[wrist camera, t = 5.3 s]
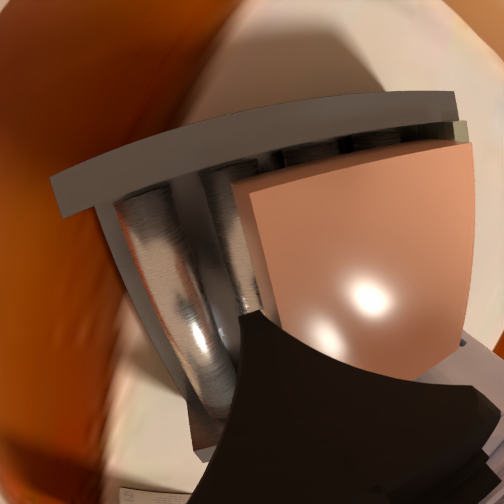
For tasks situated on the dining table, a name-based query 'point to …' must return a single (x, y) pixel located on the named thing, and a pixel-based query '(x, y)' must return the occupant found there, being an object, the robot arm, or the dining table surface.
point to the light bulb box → (150, 497)
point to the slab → (367, 252)
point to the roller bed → (193, 206)
